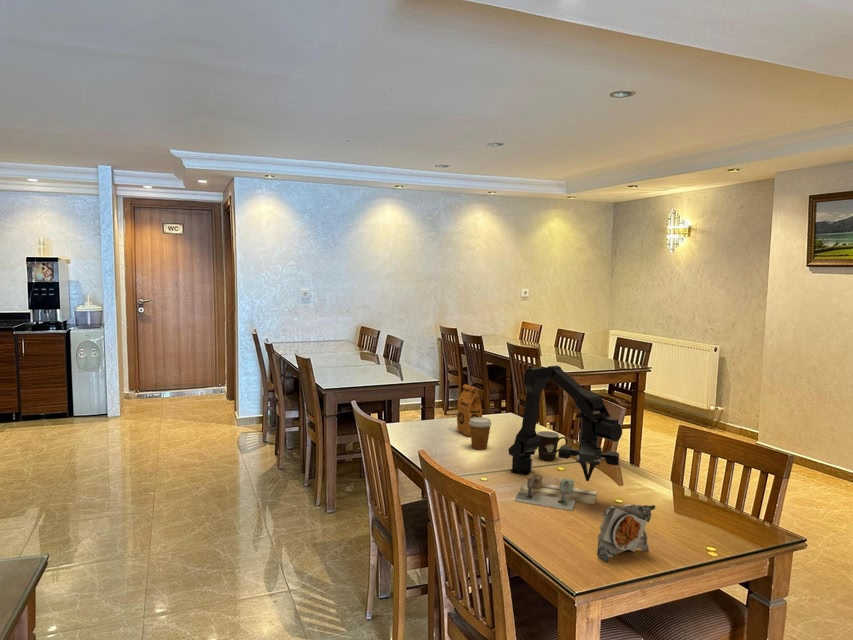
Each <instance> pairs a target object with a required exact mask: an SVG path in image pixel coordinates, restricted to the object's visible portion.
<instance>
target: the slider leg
mask: <svg viewBox="0 0 853 640" xmlns="http://www.w3.org/2000/svg"><path fill="white" fill-rule="evenodd" d="M559 486H560V490H559V491H561V493H562V496H561V501H565V493H566V492H568V493H572V491H573V488H575V480H574V479H571V478H565V477H561V479H560V481H559Z"/></svg>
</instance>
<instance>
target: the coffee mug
mask: <svg viewBox="0 0 853 640" xmlns="http://www.w3.org/2000/svg"><path fill="white" fill-rule="evenodd" d="M536 433H537V435H538V436H540V440H539V446H538V448H537V451H538V459H539V460H540V461H544V462H554V461H555V460H556V457H557V453H559V449H560V448H558V445H559V442H560V440H561V439H562V440H563V439H564V440H565V444H564V445H565V446H568V443H569V442H568V439H567V438H566V437H564V436H561V437H560V434H559V433H558V432H555V431H549V430H542V431H538V432H537V431H536Z"/></svg>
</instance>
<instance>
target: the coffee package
mask: <svg viewBox="0 0 853 640" xmlns="http://www.w3.org/2000/svg"><path fill="white" fill-rule="evenodd" d="M462 389H463V390H462V392H461V394H460V395H459V398H458V399H457V417H456V424H457V425H456V426H457V427H456V430H458V431H459V432H461V434H464V435H465V436H467V437H468V438H471V432H470V424H469V421H470V419H471V418H474V417H483V407H482V401H481V399H480V396H479V393H478V390H477V388H476V387H474V386H473V385H468V384H466V383H465V384H463V385H462Z"/></svg>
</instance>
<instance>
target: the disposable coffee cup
mask: <svg viewBox="0 0 853 640" xmlns="http://www.w3.org/2000/svg"><path fill="white" fill-rule="evenodd" d="M469 424H470V432H471V437H470V439H471V441H470V442H471V448H472V449H473V450H476V451H477V450H478V451H483V450H486V449H487V448H488V443H489V437H490V430H491V426H492V421H491V419H490V418H489V417H488V418H487V417H483V416H482V417H474V418H471V419H470V421H469Z"/></svg>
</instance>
